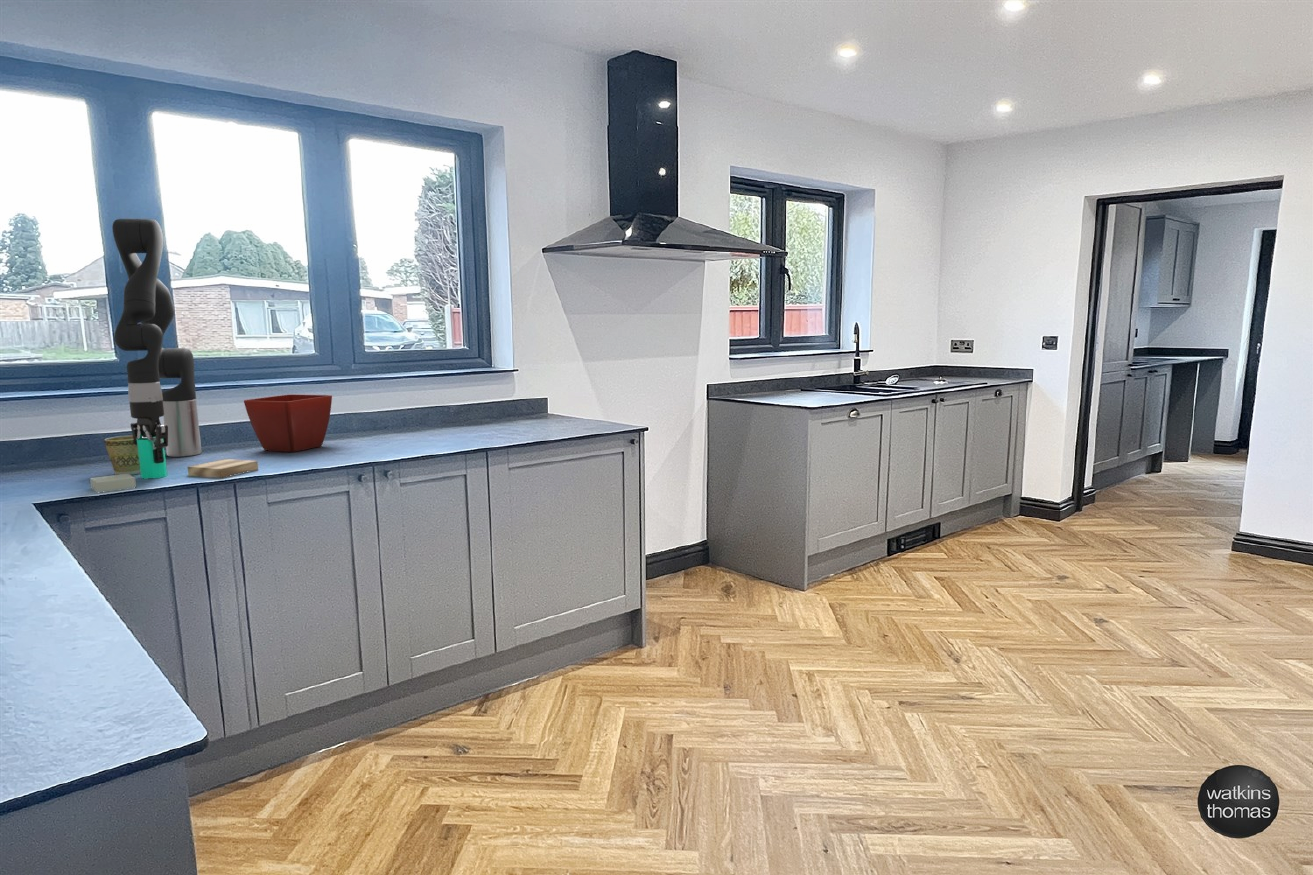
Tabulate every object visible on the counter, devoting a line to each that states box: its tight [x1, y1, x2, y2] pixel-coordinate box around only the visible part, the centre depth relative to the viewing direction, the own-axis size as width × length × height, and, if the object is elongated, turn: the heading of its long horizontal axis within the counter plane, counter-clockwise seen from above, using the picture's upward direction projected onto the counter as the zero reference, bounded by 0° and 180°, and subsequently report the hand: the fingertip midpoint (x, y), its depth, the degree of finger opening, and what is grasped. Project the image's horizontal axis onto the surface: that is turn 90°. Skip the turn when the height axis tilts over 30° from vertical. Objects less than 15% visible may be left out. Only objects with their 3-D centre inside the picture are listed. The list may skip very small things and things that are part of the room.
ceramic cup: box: [103, 434, 141, 476], centre depth 216 cm, size 13×10×10 cm
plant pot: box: [243, 393, 333, 453], centre depth 253 cm, size 19×19×17 cm
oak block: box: [187, 458, 259, 479], centre depth 215 cm, size 12×12×3 cm
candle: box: [137, 437, 168, 480], centre depth 210 cm, size 6×6×12 cm
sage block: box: [89, 474, 137, 493], centre depth 197 cm, size 8×8×3 cm
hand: (152, 461), depth 210 cm, fingers closed on candle, 5 cm apart
